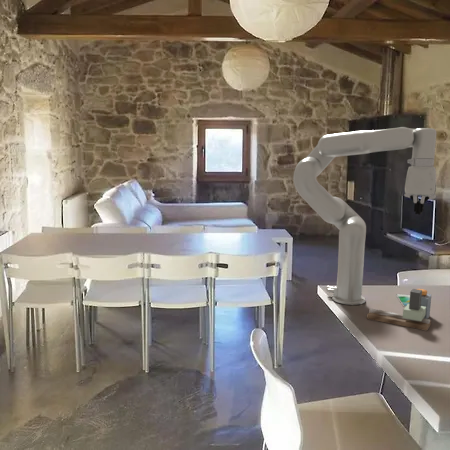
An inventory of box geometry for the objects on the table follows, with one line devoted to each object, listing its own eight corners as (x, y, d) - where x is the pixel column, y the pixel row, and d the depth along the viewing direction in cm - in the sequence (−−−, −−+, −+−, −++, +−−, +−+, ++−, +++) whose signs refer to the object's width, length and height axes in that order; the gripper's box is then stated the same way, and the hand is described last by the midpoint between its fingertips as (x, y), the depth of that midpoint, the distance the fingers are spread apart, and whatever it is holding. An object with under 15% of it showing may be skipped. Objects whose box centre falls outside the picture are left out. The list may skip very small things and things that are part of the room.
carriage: (402, 317, 178) (404, 292, 177) (407, 311, 184) (409, 286, 183) (421, 321, 175) (423, 295, 174) (425, 315, 181) (427, 289, 180)
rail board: (366, 318, 185) (367, 311, 184) (372, 313, 191) (372, 306, 190) (426, 330, 175) (427, 323, 174) (430, 324, 181) (431, 317, 180)
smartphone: (413, 294, 212) (423, 307, 197) (413, 297, 212) (423, 309, 197) (395, 293, 212) (403, 305, 198) (395, 295, 213) (403, 307, 198)
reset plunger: (412, 305, 186) (414, 290, 185) (415, 302, 190) (416, 288, 189) (424, 307, 184) (426, 292, 183) (427, 304, 188) (428, 290, 187)
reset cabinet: (408, 317, 187) (410, 295, 185) (412, 312, 192) (413, 291, 190) (426, 320, 184) (428, 298, 182) (429, 315, 189) (431, 294, 187)
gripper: (398, 162, 190) (394, 213, 193) (443, 164, 182) (438, 217, 186) (403, 161, 196) (399, 210, 199) (446, 163, 189) (442, 214, 192)
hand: (418, 213), depth 193 cm, fingers closed
